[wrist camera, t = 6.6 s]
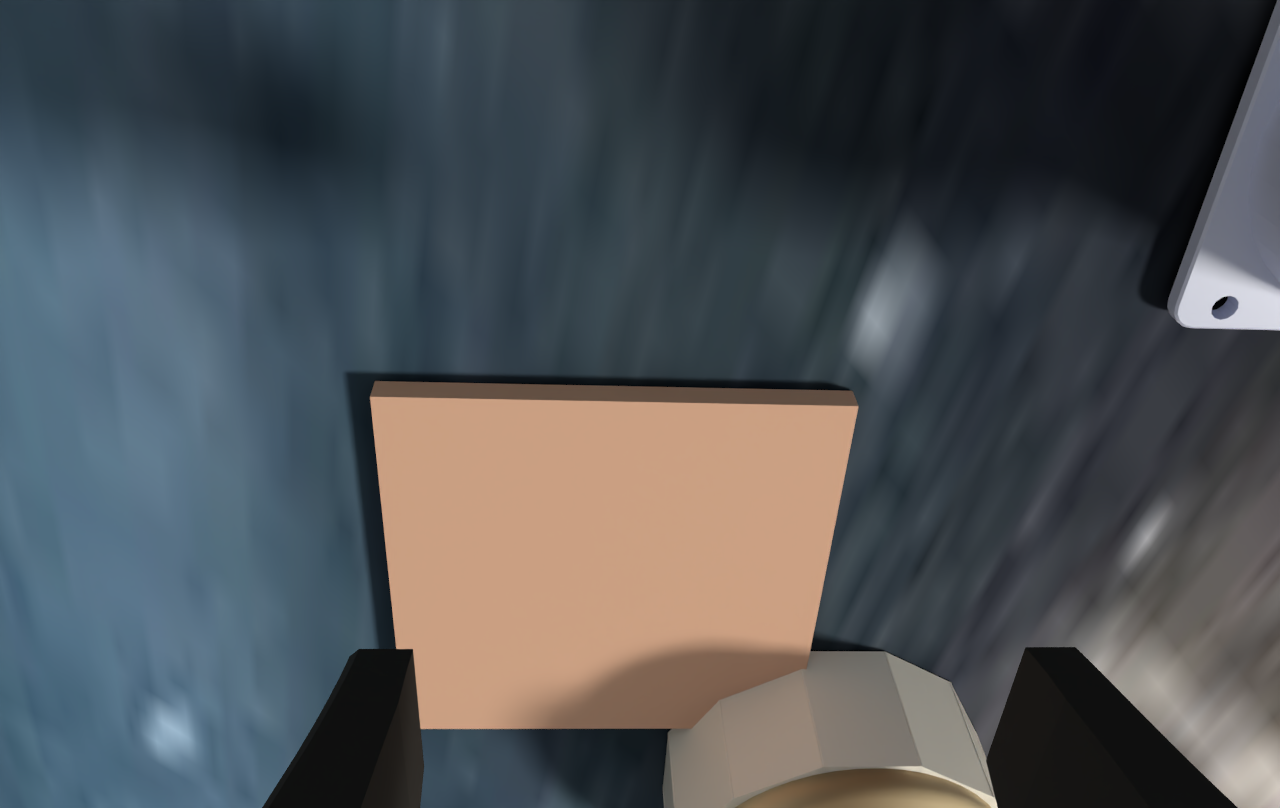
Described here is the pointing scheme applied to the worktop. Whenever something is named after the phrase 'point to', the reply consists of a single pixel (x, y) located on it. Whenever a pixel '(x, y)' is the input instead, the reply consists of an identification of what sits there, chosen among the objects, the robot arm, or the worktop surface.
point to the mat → (604, 545)
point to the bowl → (825, 732)
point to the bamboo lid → (867, 791)
